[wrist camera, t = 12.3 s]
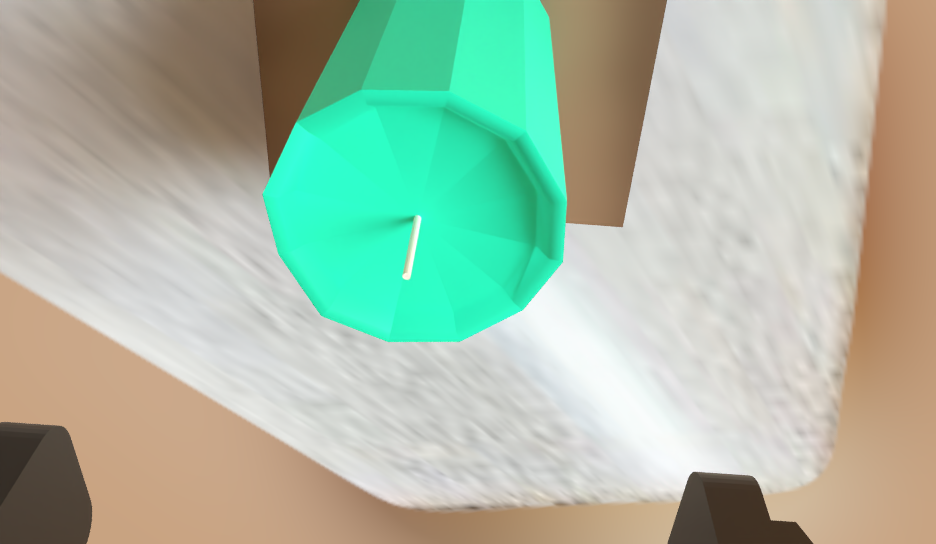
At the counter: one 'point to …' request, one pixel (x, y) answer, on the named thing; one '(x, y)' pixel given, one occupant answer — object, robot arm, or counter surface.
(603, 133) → the walnut stand
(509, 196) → the candle
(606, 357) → the counter surface
